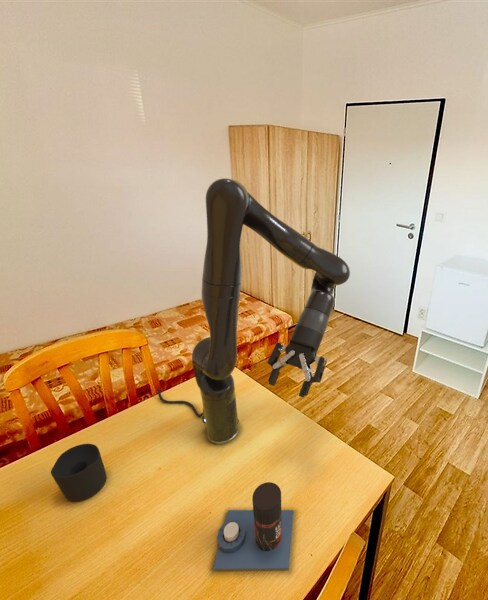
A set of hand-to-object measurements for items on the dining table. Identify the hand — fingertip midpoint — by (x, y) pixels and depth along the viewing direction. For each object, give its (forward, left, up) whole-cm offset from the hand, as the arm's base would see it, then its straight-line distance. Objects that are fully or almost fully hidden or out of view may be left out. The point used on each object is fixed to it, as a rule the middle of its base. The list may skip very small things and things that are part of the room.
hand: (285, 390), depth 77 cm
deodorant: (+9, -15, -28) cm, 33 cm away
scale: (+7, -17, -29) cm, 34 cm away
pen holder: (-37, -35, -29) cm, 59 cm away
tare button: (+2, -20, -27) cm, 34 cm away
